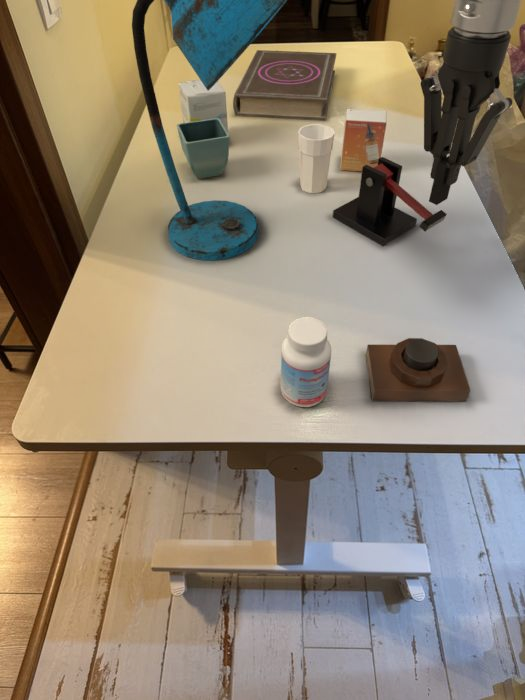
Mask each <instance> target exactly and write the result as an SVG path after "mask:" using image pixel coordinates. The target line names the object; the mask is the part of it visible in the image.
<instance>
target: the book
mask: <svg viewBox="0 0 525 700" xmlns="http://www.w3.org/2000/svg"><path fill="white" fill-rule="evenodd" d="M336 59H337V53H336V52H318V51H316V52H315V51H291V50H265V49H264V50H263V49H257V50H256V51H255V53H254V55H253V57H252V59H251V61H250V63H249V65H248V66H247V69H246V71H245V73H244V74H243V77H242V79H241V81H240V83H239V84H238V87H237V89H236V91H235V92H234V95H233V99H232V108H233V112H234V115H235V116H237V117H256V118H257V117H258V118H275V119H294V120H310V121H326V119H327V113H328V109H329V104H330V100H331V99H330V98H331V94H332V89H333V84H334V78H335V75H336V70H335V69H334V68H335V64H336Z"/></svg>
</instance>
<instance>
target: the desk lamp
mask: <svg viewBox="0 0 525 700" xmlns="http://www.w3.org/2000/svg"><path fill="white" fill-rule="evenodd" d="M287 1H288V0H163V2H165V4H166V6H167V7H168V8H169V11H170V17H171V18H170V19H171V30H172V39H173V41H174V43H175V44H176V46H177V47H178V48H179V50H180V52H181V53H182V54H183V56H184V57H185V59H186V60H187V62H188V64H189V65H190V66H191V68H192V69H193V71H194V72H195V74H196V76H197V77H198V78H199V80H201V81H202V83H203V84H204V86H205V87H206V89H207V90H208V91H209V90H210V89H211V88H212V87H213V86H214V85H215V83H216V82H217V81H218V82H219V81H220V79H221V78H223V76H224V75H225V74H226V73H227V72H228V71H229V70H230V68H231V67H232V66H233V65H234V64H235V63H236V61H237V60H238V59H239V58H240V57H241V56H242V55H243V53H245V52H246V50H247V49H248V48H249V47H250V45H251V44H252V43H253V42H254V41H255V40H256V39H257V37H258V36H259V35H260V34H261V33H262V31H263V30H264V29H265V28H266V27H267V26H268V25H269V23H270V22H271V21H272V20H273V18H274V17H275V16H276V15H277V14H278V13H279V12H280V10H281V9H282V8H283V7H284V5H285V4H286V3H287ZM154 2H155V0H136V2H135V5H134V7H133V10H132V18H131V19H132V20H131V29H132V40H133V48H134V54H135V60H136V66H137V71H138V76H139V80H140V84H141V89H142V92H143V96H144V100H145V104H146V108H147V112H148V116H149V120H150V124H151V129H152V131H153V134H154V138H155V141H156V143H157V144H156V145H157V147H158V150H159V153H160V156H161V159H162V163H163V166H164V169H165V172H166V175H167V178H168V180H169V183H170V186H171V189H172V192H173V195H174V199H175V200H176V203H177V206H178V208H179V211H177V212H176V213H175V214H173V216H172V217H171V219H170V220H169V223H168V225H167V230H168V239H169V243H170V244H171V247H172V248H173V249H174V250H175V251H176V252H177V253H179V254H180V255H183V256H185V257H187V258H190V259H194V260H198V261H212V262H213V261H220V260H221V261H223V260H226V259H231V258H234V257H236V256H238V255H241V254H243V253H245V252H246V251H247V250H249V249H250V248H251V247H252V246H254V244H255V243H256V241H257V239H258V237H259V224H258V223H259V222H258V219H257V216H256V215H255V214H254V212H253V211H252V210H251V209H249V208H248V207H246V206H245V205H242V204H240V203H237V202H234V201H228V200H204V201H199V202H197V203H192V204H190V205H189V203H188V201H187V198H186V195H185V192H184V188H183V186H182V182H181V180H180V177H179V174H178V171H177V169H176V165H175V162H174V159H173V156H172V153H171V149H170V146H169V142H168V138H167V136H166V133H165V129H164V126H163V121H162V117H161V113H160V109H159V104H158V100H157V96H156V92H155V88H154V84H153V80H152V75H151V69H150V63H149V58H148V52H147V43H146V41H147V40H146V33H145V22H146V21H145V20H146V15H147V13H148V10H149V9H150V6H151V5H152V4H153V3H154Z"/></svg>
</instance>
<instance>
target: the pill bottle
mask: <svg viewBox="0 0 525 700" xmlns="http://www.w3.org/2000/svg"><path fill="white" fill-rule="evenodd" d="M280 353H281V355H280V358H281V359H280V392H281V394H282V397H283V398H284V399H285V400H286V401H287V402H288V403H290V404H292V405H294V406H296V407H300V408H310V407H313V406H316V405H318V404H320V403H321V402H322V401H323V400H325V397H326V395H327V393H328V384H329V376H330V367H331V358H332V346H331V343H330V341H329V340H328V328H327V326H326V325H325V323H324V322H323V321H322V320H320V319H318V318H316V317H311V316H303V317H299V318H297V319H294V320H293V321H292V322H291V323H290V324H289V326H288V329H287V336H286V337H285V339H284V340H283V342H282V344H281V352H280Z"/></svg>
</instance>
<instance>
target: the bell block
mask: <svg viewBox="0 0 525 700" xmlns="http://www.w3.org/2000/svg"><path fill="white" fill-rule="evenodd" d="M416 339H422V340H426V341H429V342H431V343H432V344H434V345H435V346H436V348H437V350H438V356H437V359H436V362H435V365H434V366H433V367H432V368H431V369H429V370H427V371H417V370H414V369H412V368H410V367H409V366H408V365H407V364H406V363H405V361H404V353H405V349H406V346H407V344H408V343H409V342H410V341H412V340H416ZM365 361H366V367H367V373H368V381H369V387H370V393H371V399H372V401H373V402H376V401H377V402H379V401H382V402H467V400H468V398H469V396H470V393H471V387H470V384H469V382H468V379H467V376H466V372H465V369H464V366H463V362H462V360H461V356H460V353H459V350H458V347H457V344H437V343H435V342H434V341H433V342H432V341H430V340H428V339H425V338H422V337H418V338H417V337H408V338H406V339H403V340H401V341H399V342H397V343H396V344H367V346H366V351H365Z"/></svg>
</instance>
